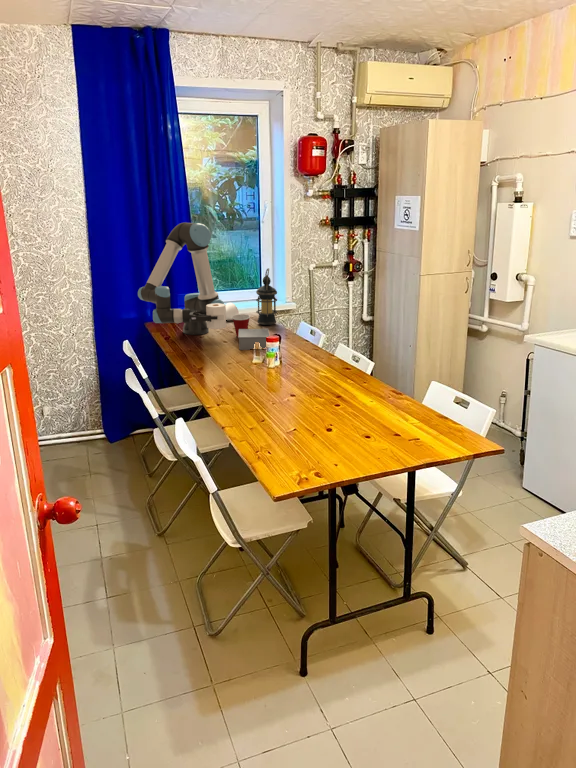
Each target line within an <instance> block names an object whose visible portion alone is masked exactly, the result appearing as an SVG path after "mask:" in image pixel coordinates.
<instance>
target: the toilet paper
mask: <svg viewBox="0 0 576 768" xmlns="http://www.w3.org/2000/svg"><path fill="white" fill-rule="evenodd" d="M206 315H224V320H212V319H211V322H210V321H206V322H207V328H209V329H210V330H222V329H225V328H226V327H227V321H226V304H225V303H224V304H220V303H213V304H208V305H206Z"/></svg>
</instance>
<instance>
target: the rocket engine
mask: <svg viewBox="0 0 576 768" xmlns="http://www.w3.org/2000/svg"><path fill="white" fill-rule="evenodd" d="M225 305H226V320H227V321H233V319H232V316H234V315H238V314H240V313H239V308H238V307H237V306H236V305H235V304H234V303H233V302H227V303H226V304H225Z"/></svg>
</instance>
